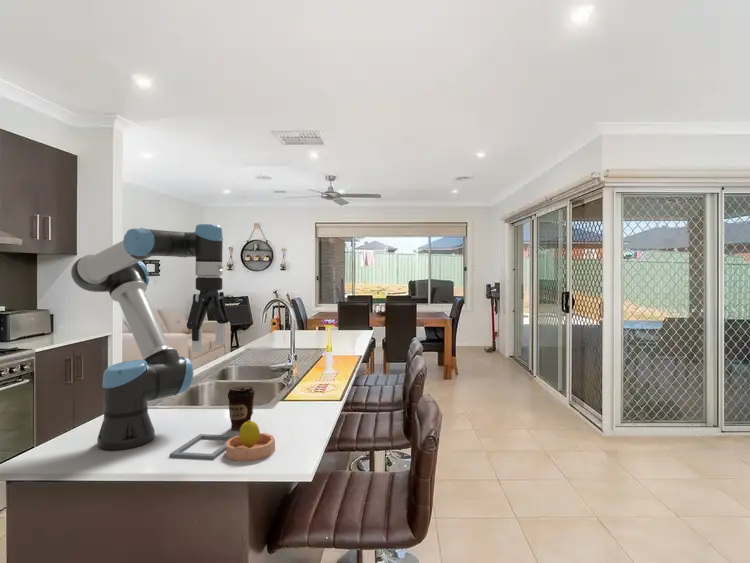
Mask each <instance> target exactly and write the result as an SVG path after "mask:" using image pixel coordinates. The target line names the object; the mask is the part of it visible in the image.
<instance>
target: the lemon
mask: <svg viewBox="0 0 750 563" xmlns="http://www.w3.org/2000/svg"><path fill="white" fill-rule="evenodd" d="M260 433H261V432H260V428H259V425H258V424H257V423H256V422H255V421H253V420H248V421H247V422H245V423H244V424H243V425H242V426H241V428H240V430H239V434H238V435H239V439H240V442H241V443H242V445H244V446H246V447H248V448H252V446H254V445H255V444H256V443H257V442H258V440H259V437H260Z"/></svg>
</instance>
